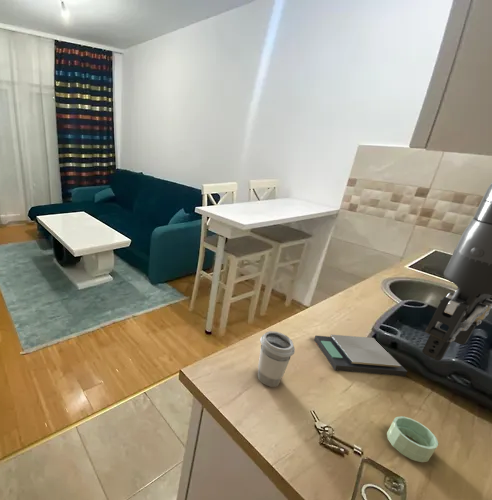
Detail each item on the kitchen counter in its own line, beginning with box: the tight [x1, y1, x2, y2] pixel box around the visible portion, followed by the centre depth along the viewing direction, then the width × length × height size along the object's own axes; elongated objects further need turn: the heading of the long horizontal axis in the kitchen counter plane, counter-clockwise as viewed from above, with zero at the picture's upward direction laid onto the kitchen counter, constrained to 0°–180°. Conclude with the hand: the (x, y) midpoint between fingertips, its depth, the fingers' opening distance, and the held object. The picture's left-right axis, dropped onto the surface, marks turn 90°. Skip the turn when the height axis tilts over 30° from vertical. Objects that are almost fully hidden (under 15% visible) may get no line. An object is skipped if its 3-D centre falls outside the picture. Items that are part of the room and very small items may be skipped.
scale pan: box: [329, 334, 402, 367], centre depth 73 cm, size 11×10×1 cm
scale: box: [313, 335, 408, 377], centre depth 74 cm, size 16×11×3 cm
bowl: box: [386, 415, 439, 463], centre depth 53 cm, size 6×6×4 cm
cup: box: [257, 330, 296, 388], centre depth 65 cm, size 7×7×12 cm
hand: (443, 348), depth 46 cm, fingers open, 8 cm apart
